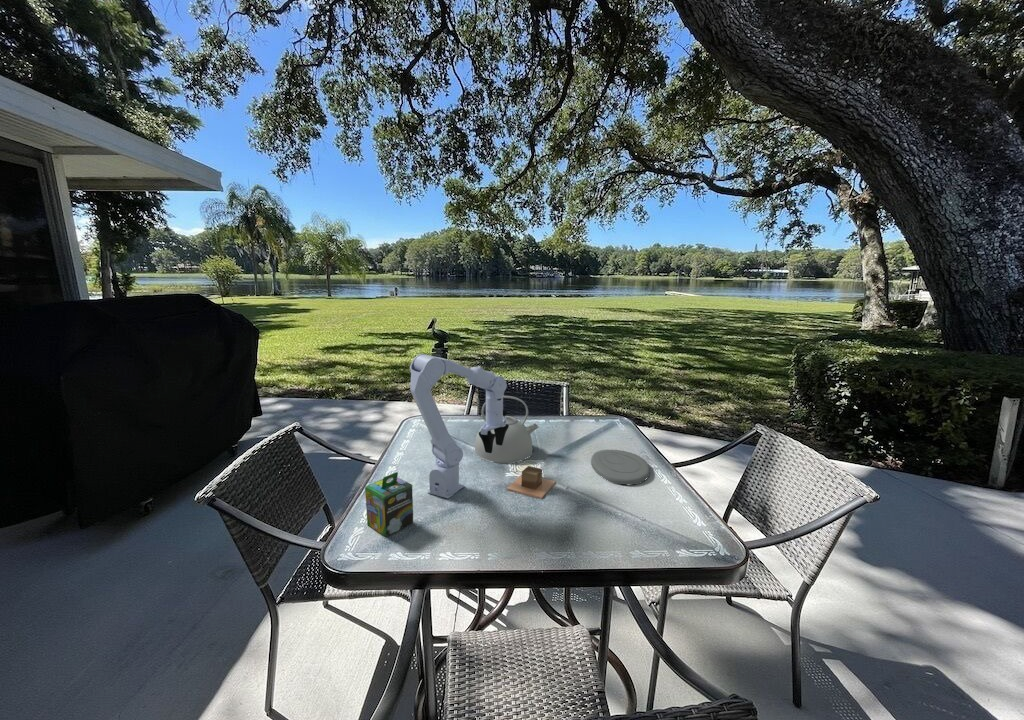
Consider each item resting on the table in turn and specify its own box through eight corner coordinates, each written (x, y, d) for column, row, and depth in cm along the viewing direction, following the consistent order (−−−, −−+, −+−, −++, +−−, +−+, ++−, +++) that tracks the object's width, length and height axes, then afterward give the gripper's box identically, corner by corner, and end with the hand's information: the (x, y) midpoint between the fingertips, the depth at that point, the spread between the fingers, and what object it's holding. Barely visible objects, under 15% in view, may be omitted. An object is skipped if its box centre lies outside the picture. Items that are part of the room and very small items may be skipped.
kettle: (538, 441, 177) (539, 389, 173) (538, 464, 154) (540, 405, 151) (478, 440, 178) (478, 388, 174) (470, 462, 156) (470, 403, 152)
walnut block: (535, 489, 134) (536, 474, 133) (521, 486, 136) (521, 471, 135) (541, 483, 138) (542, 469, 137) (528, 480, 140) (528, 465, 140)
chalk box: (394, 511, 121) (392, 463, 118) (414, 523, 115) (413, 472, 113) (365, 525, 114) (363, 474, 111) (385, 538, 108) (383, 484, 106)
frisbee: (601, 486, 139) (601, 479, 138) (585, 454, 165) (585, 448, 165) (662, 486, 139) (663, 479, 139) (636, 454, 166) (636, 448, 165)
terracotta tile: (541, 498, 129) (541, 497, 129) (506, 490, 135) (506, 488, 134) (555, 482, 140) (555, 481, 140) (522, 475, 145) (522, 473, 145)
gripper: (494, 417, 133) (494, 458, 136) (514, 406, 146) (513, 443, 149) (475, 414, 136) (475, 454, 139) (496, 403, 149) (496, 440, 152)
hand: (494, 448), depth 144 cm, fingers open, 7 cm apart
